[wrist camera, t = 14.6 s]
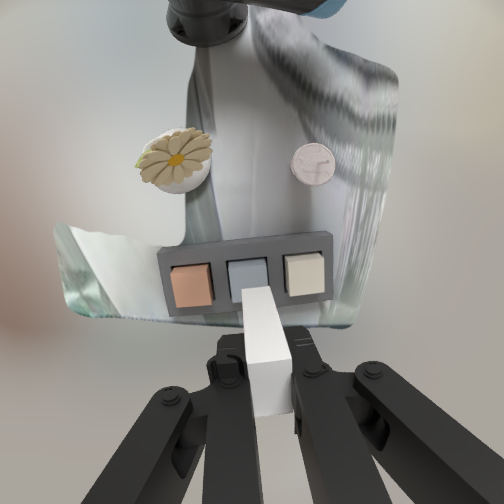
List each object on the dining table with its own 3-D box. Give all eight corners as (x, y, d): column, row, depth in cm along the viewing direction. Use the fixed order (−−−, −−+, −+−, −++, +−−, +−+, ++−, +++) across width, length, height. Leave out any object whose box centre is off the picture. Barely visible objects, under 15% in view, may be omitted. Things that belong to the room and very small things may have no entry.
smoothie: (323, 175, 50) (353, 176, 36) (291, 189, 50) (312, 195, 36) (308, 142, 48) (334, 132, 34) (276, 156, 48) (291, 150, 35)
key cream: (283, 253, 51) (288, 262, 46) (316, 250, 51) (324, 258, 46) (285, 285, 52) (289, 296, 48) (316, 281, 53) (324, 292, 48)
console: (162, 247, 51) (156, 253, 47) (325, 230, 52) (332, 235, 48) (173, 307, 54) (169, 316, 50) (326, 291, 55) (333, 299, 51)
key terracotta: (175, 264, 50) (170, 274, 45) (209, 261, 50) (206, 270, 46) (181, 295, 52) (176, 307, 47) (213, 293, 52) (211, 304, 47)
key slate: (229, 259, 51) (228, 268, 46) (263, 255, 51) (266, 264, 46) (232, 291, 52) (232, 302, 47) (265, 287, 52) (268, 299, 48)
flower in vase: (153, 198, 49) (87, 220, 25) (145, 136, 46) (74, 109, 22) (225, 186, 49) (216, 196, 25) (217, 122, 46) (201, 75, 22)
